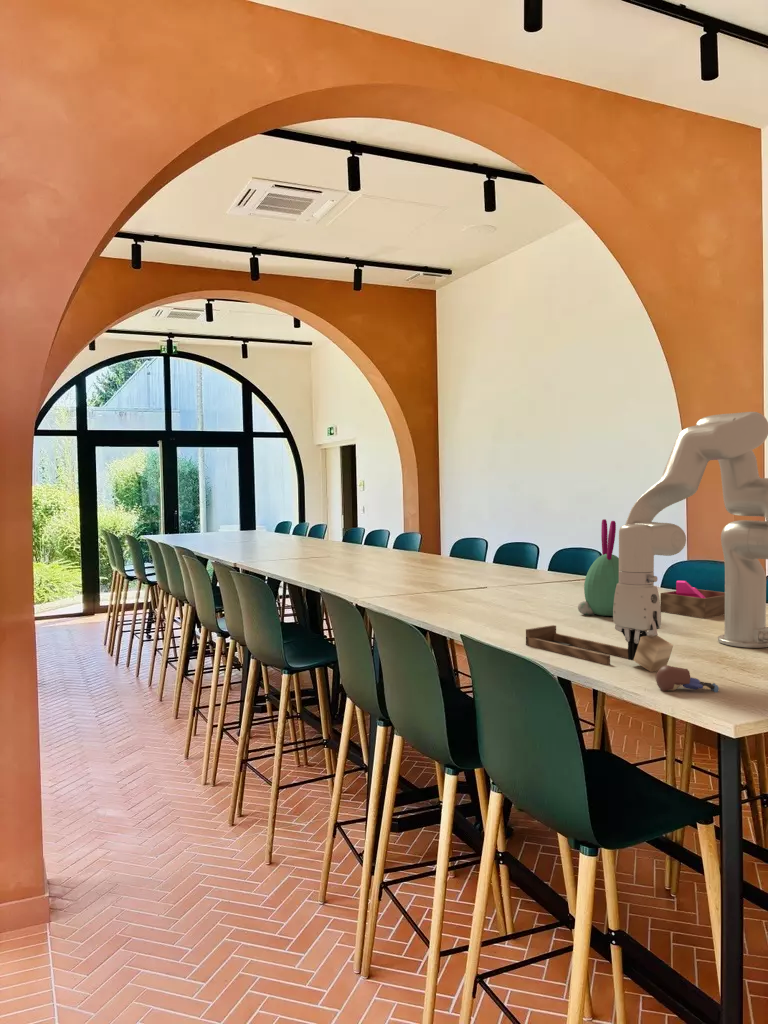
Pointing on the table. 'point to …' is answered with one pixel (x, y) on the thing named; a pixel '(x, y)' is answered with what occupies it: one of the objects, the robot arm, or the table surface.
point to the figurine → (680, 680)
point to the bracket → (687, 590)
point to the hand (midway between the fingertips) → (635, 659)
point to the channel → (563, 643)
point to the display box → (694, 604)
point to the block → (653, 653)
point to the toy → (602, 577)
